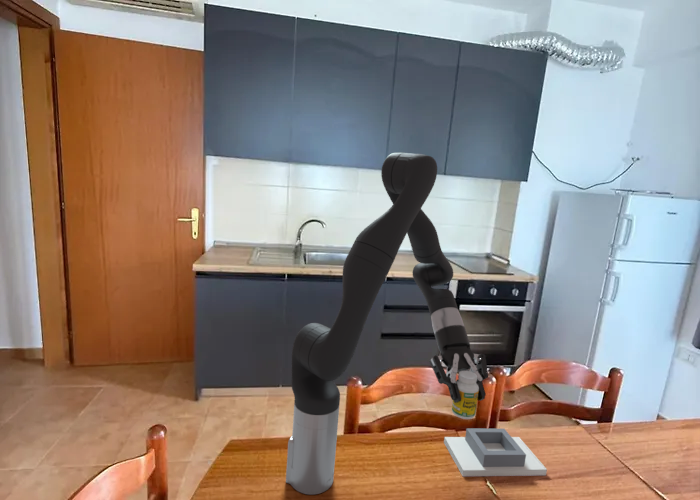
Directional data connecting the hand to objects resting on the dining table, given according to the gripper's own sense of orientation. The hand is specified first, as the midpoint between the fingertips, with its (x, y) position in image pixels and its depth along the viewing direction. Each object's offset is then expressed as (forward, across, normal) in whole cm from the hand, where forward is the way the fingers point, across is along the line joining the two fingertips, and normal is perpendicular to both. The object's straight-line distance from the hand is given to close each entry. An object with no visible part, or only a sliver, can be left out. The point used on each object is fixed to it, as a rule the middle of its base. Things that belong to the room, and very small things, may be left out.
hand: (469, 400), depth 90 cm
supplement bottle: (+2, 0, +4) cm, 5 cm away
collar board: (+11, +9, +13) cm, 19 cm away
